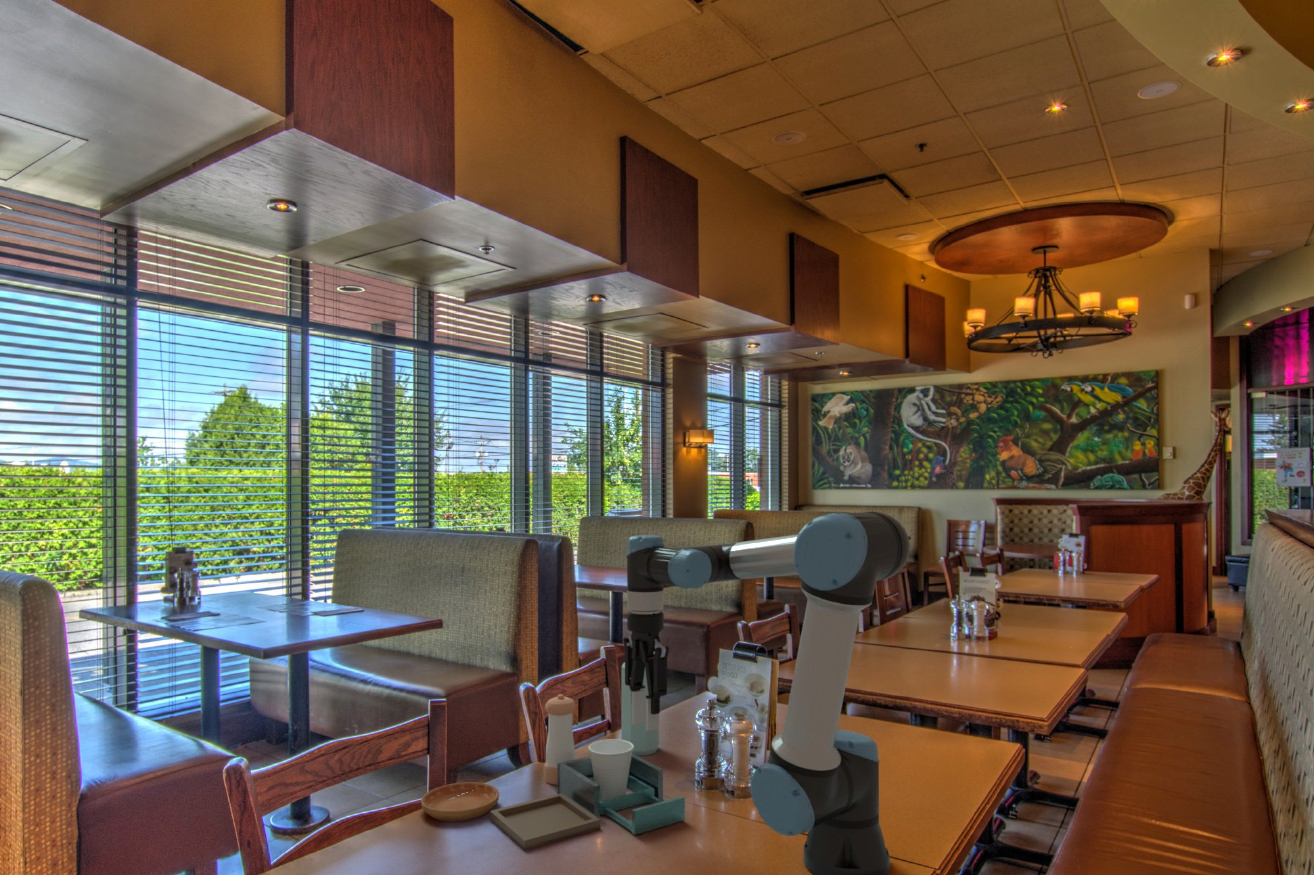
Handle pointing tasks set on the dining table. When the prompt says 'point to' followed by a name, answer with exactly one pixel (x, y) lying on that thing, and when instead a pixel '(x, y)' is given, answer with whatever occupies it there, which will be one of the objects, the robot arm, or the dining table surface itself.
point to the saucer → (460, 801)
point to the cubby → (587, 792)
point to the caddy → (643, 808)
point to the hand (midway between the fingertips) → (645, 725)
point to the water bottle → (636, 733)
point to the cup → (611, 766)
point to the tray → (544, 821)
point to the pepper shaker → (559, 736)
